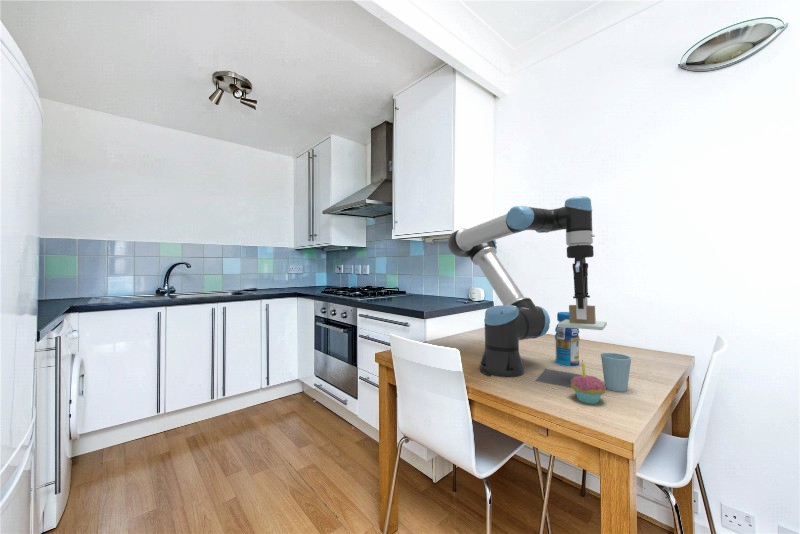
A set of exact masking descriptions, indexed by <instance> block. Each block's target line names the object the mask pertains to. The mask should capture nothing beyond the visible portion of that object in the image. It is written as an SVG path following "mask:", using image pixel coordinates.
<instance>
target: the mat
mask: <svg viewBox="0 0 800 534" xmlns="http://www.w3.org/2000/svg"><path fill="white" fill-rule="evenodd" d="M579 375H580V374H578V373H572V372H568V371H567V372H566V371H563V370H554V369H548V368H545V369H544V370H543V371H542V372H541V374H539V376H538V377H537V378H536V379H535V382H539V383H546V384H550V385H555V386H561V387H565V388H571V389H573V388H572V387H571V380H572V379H573V377H576V376H579Z"/></svg>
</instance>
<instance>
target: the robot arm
mask: <svg viewBox="0 0 800 534" xmlns="http://www.w3.org/2000/svg"><path fill="white" fill-rule="evenodd" d="M592 207H593V205H592V200H591V198H590V197H588V196H584V195H583V196H573V197H568V198H567V199H565V201H564V206H563V207H557V208H552V209H547V208H541V207H540V208H539V207H533V206H526V205H515V206H512V207H510V209H509V210H508V211H507V213H506V214H502V215H499V216H498V217H495V218H493V219H489V220H488V221H485V222H483V223H480V224H477V225H475V226H473V227H469V228H461V229H458V230H457V229H456V230H455V231H453V232H452V233H451V234H449V237H448V240H447V248H448V250H449V252H450V253H451V254H453V255H454V256H456V257H460V258H469V259H470V260H471V262H472V263H473V265H474V266H478V267H479V268H480V270H481V271H482V273H483V274H484V276H485V278H486V279H487V281H488V283H489V284H490V285H491V288H492V289H493V290H494V293H495V294H496V296H497V298H498V299H499V300H500V302H501V305H500V304H499V305H493V306H490V307H488V308H487V309H485V312H484V318H483V319H484V351H483V354H482V358H481V359H480V364H479V370H480V372H481V373H482V374H484V375H487V376H490V377H491V376H494V377H499V378H518V377H521V376H523V375H524V374H525V366H524V363H523V360H522V357H521V355H520V349H519V348H520V341H523V340H530V339H538V338H540V337H543V336H545V335H546V334H547V332H548V331H549V329H550V324H551V318H550V315H549V313H548V310H546V309H545V308H544V307H542V306H537V305H536V304H535V303H534V302H533V300H532V299H531V298H530V297H526V296H525V295H524V294H523V293H522V291H521V290H520V289H519V286H518V285H517V284H516V283H515V281H514V280H513V277H512V276H511V275H510V273H509V272H508V270H507V269H506V268H505V267H504V265H503V264H502V262H501V260H500V258H499V257H498V256H497V241H496V240H498V239H501V238H505V237H507V236H511V235H514V234H518V233H520V232H523V231H524V232H525V231H535V232H536V233H539V234H541V233H543V234H544V233H547V234H548V233H551V232H556V231H561V230H565V244H566V246H567V247H566V257H567V258H568V259H574V263H572V271H573V289H574V294H573V295H574V296H572V298H573V299H575V305H576V315H577V319H585V320H587V313H586V305H589V304H588V301H589V300H588V299H589V298H591V296H590V295H589V289H588V288H589V287H588V283H589V282H588V277H589V270H588V269H589V263H587V262H586V258H592V257H594V253H595V252H594V246H593V245H592V244H593V242H594V239H593V238H595V237H596V234H595V233H593V208H592Z"/></svg>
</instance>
